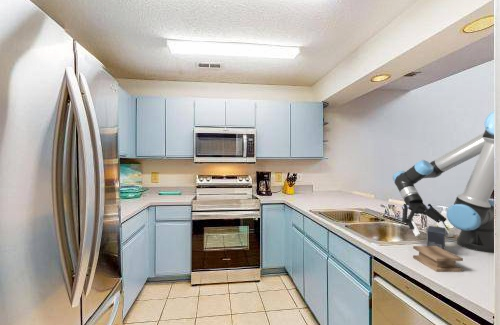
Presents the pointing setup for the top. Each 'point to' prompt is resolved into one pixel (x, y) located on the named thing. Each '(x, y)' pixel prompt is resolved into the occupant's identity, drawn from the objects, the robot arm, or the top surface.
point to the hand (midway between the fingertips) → (432, 235)
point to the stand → (437, 259)
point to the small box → (436, 237)
